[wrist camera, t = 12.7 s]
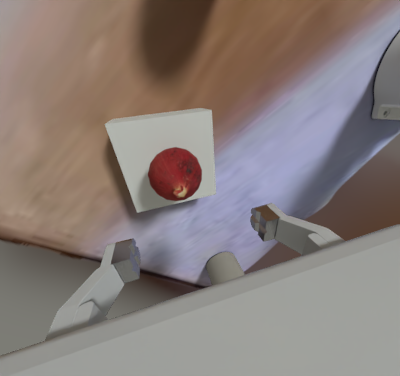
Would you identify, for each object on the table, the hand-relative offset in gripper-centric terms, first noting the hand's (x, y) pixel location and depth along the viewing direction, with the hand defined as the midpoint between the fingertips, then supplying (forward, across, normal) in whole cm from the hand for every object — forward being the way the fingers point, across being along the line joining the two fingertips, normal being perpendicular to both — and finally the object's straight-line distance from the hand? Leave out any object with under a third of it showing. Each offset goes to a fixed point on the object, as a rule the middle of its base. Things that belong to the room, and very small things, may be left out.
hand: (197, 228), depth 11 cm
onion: (+12, 0, 0) cm, 13 cm away
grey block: (+17, +1, 0) cm, 17 cm away
